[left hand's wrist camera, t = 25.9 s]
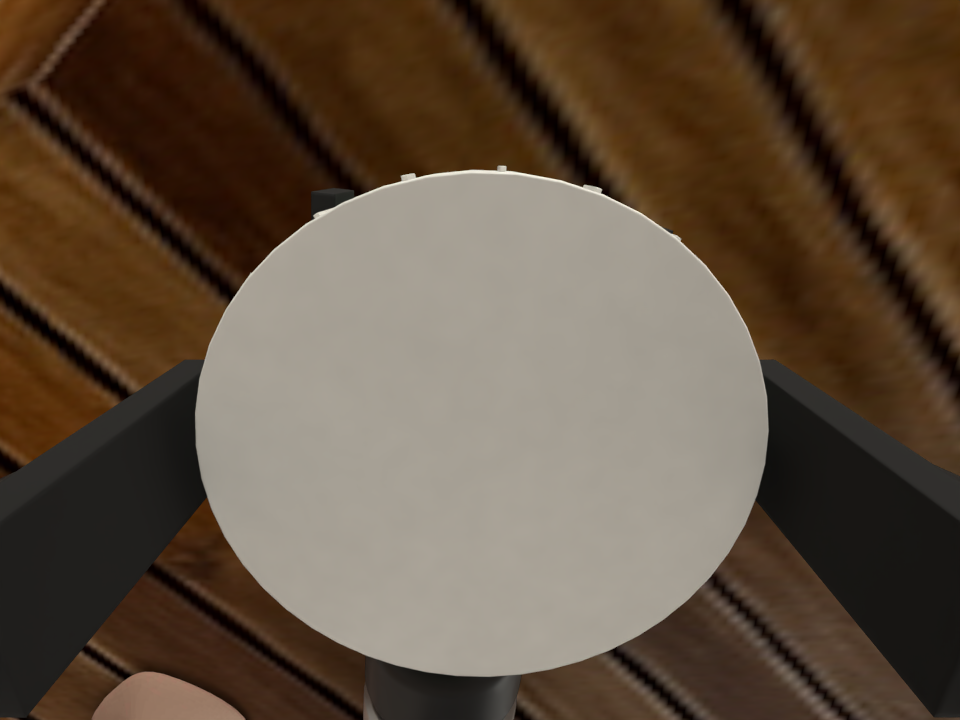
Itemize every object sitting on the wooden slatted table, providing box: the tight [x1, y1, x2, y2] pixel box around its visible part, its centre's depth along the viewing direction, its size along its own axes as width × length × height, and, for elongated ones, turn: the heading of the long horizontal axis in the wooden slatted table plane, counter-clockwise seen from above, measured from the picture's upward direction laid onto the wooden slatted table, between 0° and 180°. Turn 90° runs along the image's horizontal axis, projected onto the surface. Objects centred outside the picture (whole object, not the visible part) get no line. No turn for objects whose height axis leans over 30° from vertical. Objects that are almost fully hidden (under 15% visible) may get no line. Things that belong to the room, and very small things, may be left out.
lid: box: [195, 166, 769, 677], centre depth 11 cm, size 11×11×2 cm
